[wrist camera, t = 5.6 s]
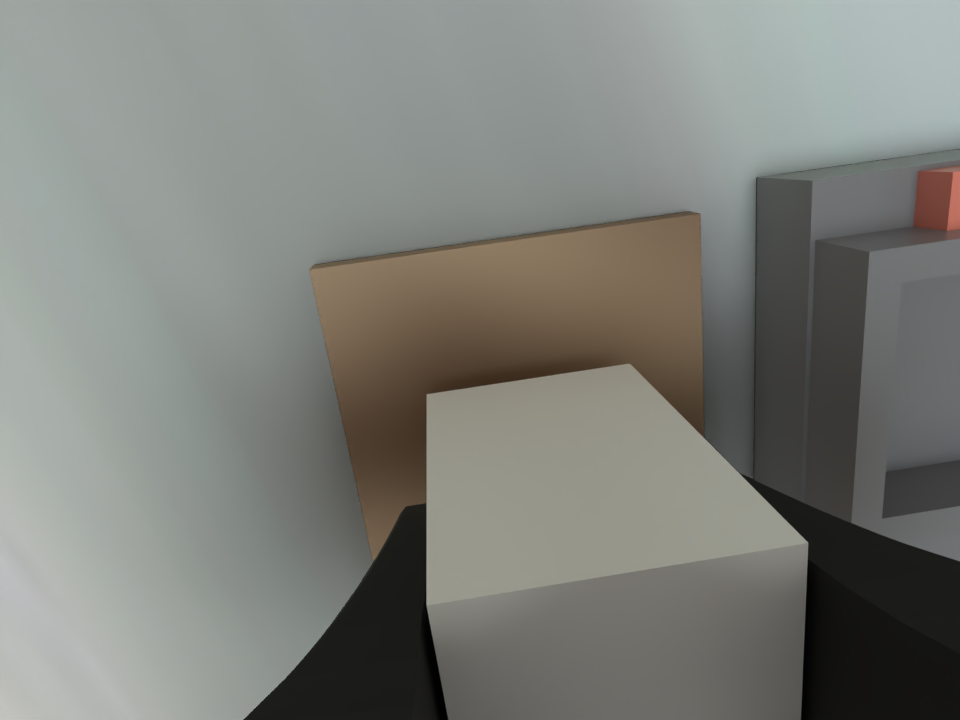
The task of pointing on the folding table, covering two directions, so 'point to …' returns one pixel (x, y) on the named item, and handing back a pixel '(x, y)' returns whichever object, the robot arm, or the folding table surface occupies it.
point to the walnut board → (502, 333)
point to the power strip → (863, 344)
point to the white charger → (603, 560)
